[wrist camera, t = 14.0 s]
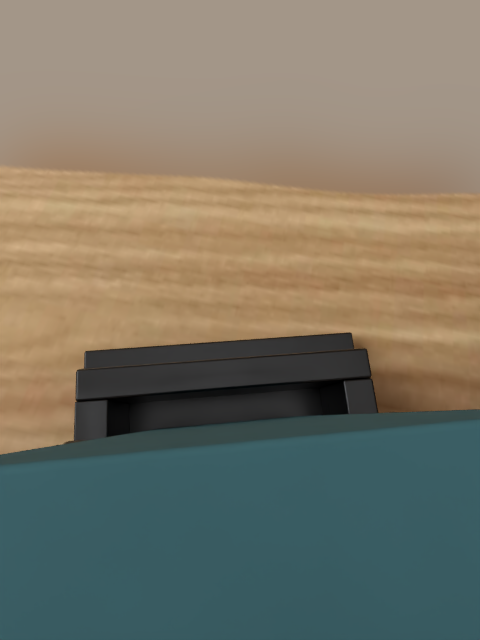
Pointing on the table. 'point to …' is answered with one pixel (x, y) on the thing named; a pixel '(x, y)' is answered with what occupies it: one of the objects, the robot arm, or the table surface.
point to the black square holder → (220, 383)
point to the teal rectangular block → (248, 532)
